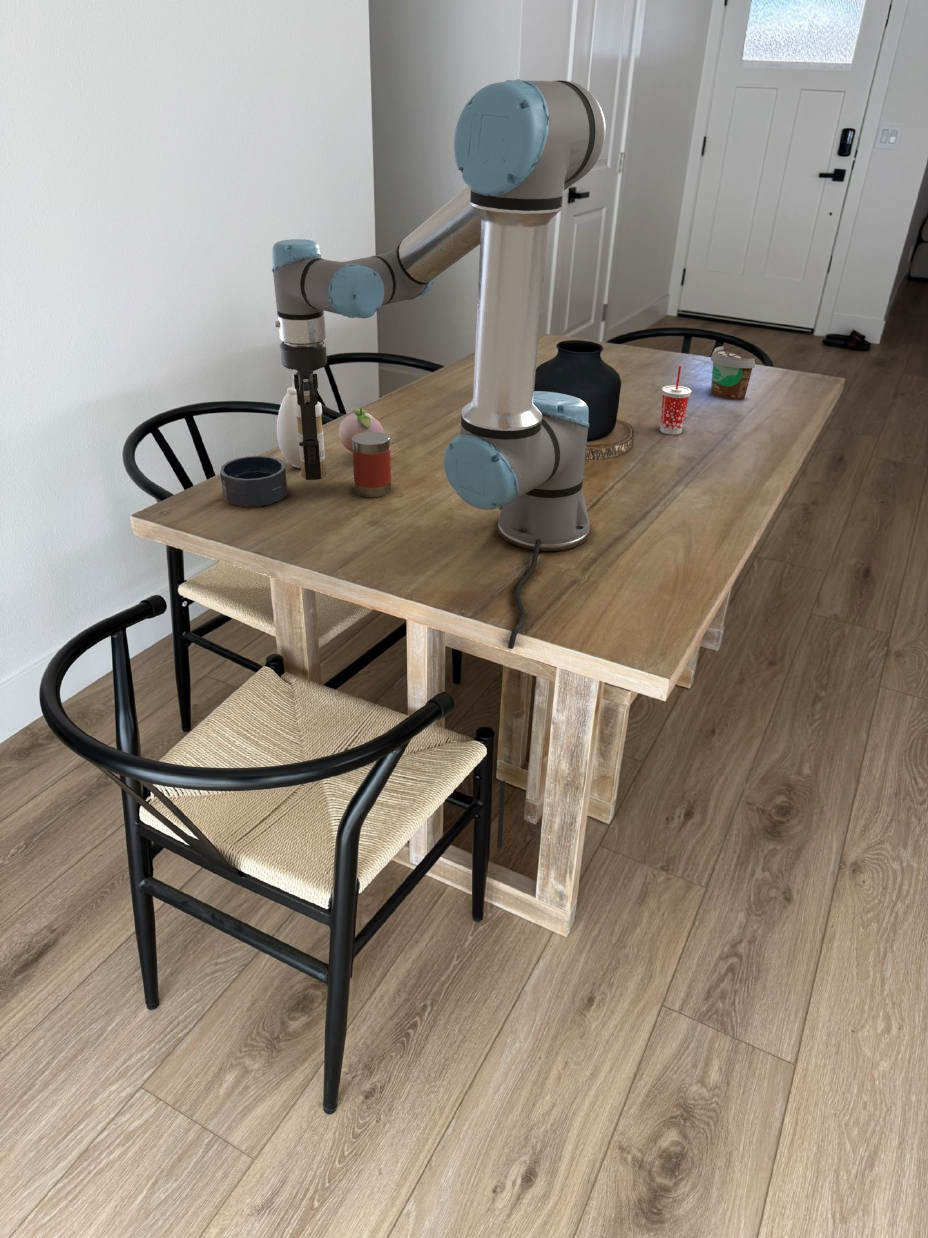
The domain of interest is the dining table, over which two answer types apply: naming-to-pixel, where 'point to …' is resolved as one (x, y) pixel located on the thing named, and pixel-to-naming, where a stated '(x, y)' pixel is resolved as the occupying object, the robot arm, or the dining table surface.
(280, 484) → the bowl
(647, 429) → the dining table surface
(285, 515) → the dining table surface
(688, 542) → the dining table surface
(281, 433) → the sauce bottle
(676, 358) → the dining table surface
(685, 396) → the beverage cup
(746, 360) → the food container
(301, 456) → the sprinkles bottle
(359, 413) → the decorative fruit
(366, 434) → the tin can
